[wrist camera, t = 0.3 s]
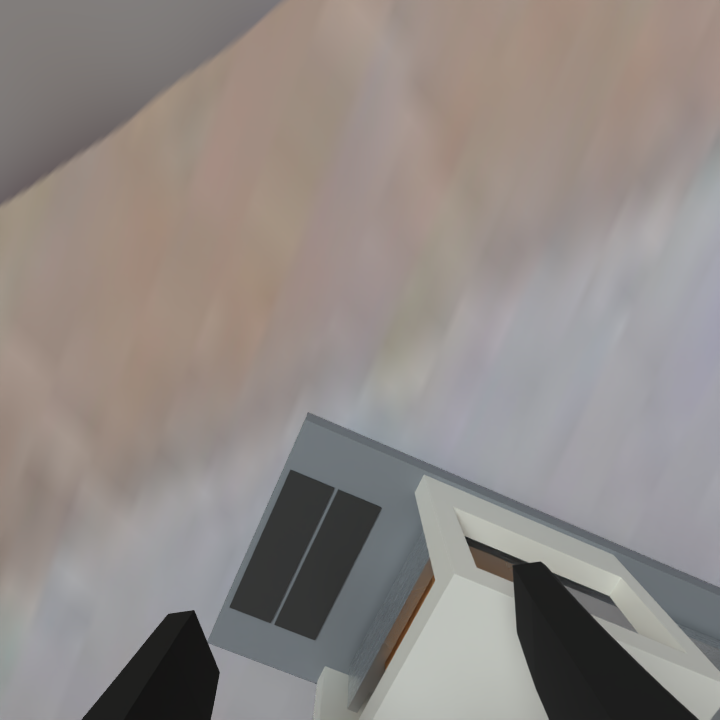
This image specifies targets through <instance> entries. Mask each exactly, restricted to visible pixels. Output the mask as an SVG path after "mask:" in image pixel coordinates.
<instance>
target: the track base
mask: <svg viewBox="0 0 720 720" xmlns="http://www.w3.org/2000/svg"><path fill="white" fill-rule="evenodd" d="M423 475H426V476H429V477H431V478H433V479H436V480H438V481H440V482H443V483H445V484H447V485H450V486H452V487H455V488H457V489H459V490H462V491H464V492H466V493H469V494H471V495H473V496H476V497H478V498H480V499H483V500H485V501H488V502H490V503H492V504H495V505H497V506H499V507H502V508H504V509H506V510H509V511H511V512H513V513H516V514H518V515H521V516H523V517H525V518H528V519H530V520H532V521H535V522H537V523H539V524H542V525H544V526H546V527H549V528H551V529H554V530H556V531H558V532H561V533H563V534H565V535H568V536H570V537H572V538H575V539H577V540H580V541H582V542H584V543H587V544H589V545H591V546H594V547H596V548H598V549H601V550H603V551H605V552H608V553H610V554H613V555H614V556H615V557H616V558H617V559H618V561H619V562H620V563H621V564H622V565H623V566H624V567H625V568H626V569H627V570H628V571H629V573H630V574H631V575H632V576H633V577H634V578H635V579H636V580H637V581H638V582H639V584H640V585H641V586H642V587H643V588H644V589H645V590H646V591H647V592H648V593H649V595H650V596H651V597H652V598H653V599H654V600H655V601H656V602H657V603H658V604H659V606H660V607H661V608H662V609H663V610H664V611H665V612H666V613H667V614H668V615H669V616H670V618H671V619H672V620H673V621H674V622H675V623H678V624H680V625H683V626H685V627H687V628H690V629H692V630H695V631H697V632H699V633H702V634H704V635H707V636H709V637H711V638H714V639H716V640H719V641H720V588H719V587H716V586H714V585H712V584H709V583H707V582H705V581H702V580H700V579H698V578H695V577H693V576H691V575H688V574H686V573H683V572H681V571H679V570H676V569H674V568H672V567H669V566H667V565H665V564H662V563H660V562H658V561H655V560H653V559H651V558H648V557H646V556H644V555H641V554H639V553H637V552H634V551H632V550H630V549H627V548H625V547H623V546H620V545H618V544H616V543H613V542H611V541H608V540H606V539H604V538H601V537H599V536H597V535H594V534H592V533H590V532H587V531H585V530H583V529H580V528H578V527H576V526H573V525H571V524H569V523H566V522H564V521H562V520H559V519H557V518H555V517H552V516H550V515H548V514H545V513H543V512H540V511H538V510H536V509H533V508H531V507H529V506H526V505H524V504H522V503H519V502H517V501H515V500H512V499H510V498H508V497H505V496H503V495H501V494H498V493H496V492H494V491H491V490H489V489H487V488H484V487H482V486H480V485H477V484H475V483H472V482H470V481H468V480H465V479H463V478H461V477H458V476H456V475H454V474H451V473H449V472H447V471H444V470H442V469H440V468H437V467H435V466H433V465H430V464H428V463H426V462H423V461H421V460H419V459H416V458H414V457H412V456H409V455H407V454H404V453H402V452H400V451H397V450H395V449H393V448H390V447H388V446H386V445H383V444H381V443H379V442H376V441H374V440H372V439H369V438H367V437H365V436H362V435H360V434H358V433H355V432H353V431H351V430H348V429H346V428H344V427H341V426H339V425H336V424H334V423H332V422H329V421H327V420H325V419H322V418H320V417H318V416H315V415H313V414H311V413H308V414H307V417H306V419H305V421H304V423H303V426H302V428H301V430H300V432H299V435H298V437H297V439H296V442H295V444H294V446H293V448H292V451H291V453H290V455H289V457H288V460H287V462H286V464H285V467H284V469H283V471H282V473H281V476H280V478H279V480H278V482H277V485H276V487H275V489H274V491H273V494H272V496H271V498H270V501H269V503H268V505H267V507H266V510H265V512H264V514H263V516H262V519H261V521H260V523H259V526H258V528H257V530H256V532H255V535H254V537H253V539H252V541H251V544H250V546H249V548H248V551H247V553H246V555H245V557H244V560H243V562H242V564H241V566H240V569H239V571H238V573H237V575H236V578H235V580H234V582H233V585H232V587H231V589H230V591H229V594H228V596H227V598H226V600H225V603H224V605H223V607H222V610H221V612H220V614H219V616H218V619H217V621H216V623H215V625H214V628H213V630H212V632H211V635H210V637H209V639H208V641H207V643H209V644H212V645H215V646H217V647H220V648H223V649H225V650H228V651H231V652H233V653H236V654H238V655H241V656H244V657H246V658H249V659H252V660H254V661H257V662H260V663H262V664H265V665H268V666H270V667H273V668H276V669H278V670H281V671H283V672H286V673H289V674H291V675H294V676H297V677H299V678H302V679H305V680H307V681H310V682H313V683H315V684H317V681H318V679H319V677H320V675H321V673H322V671H323V669H324V667H325V666H326V667H329V668H331V669H334V670H336V671H339V672H342V673H344V674H347V675H349V667H350V665H351V663H352V661H353V659H354V657H355V655H356V653H357V652H358V650H359V648H360V646H361V644H362V642H363V640H364V638H365V636H366V635H367V633H368V631H369V629H370V627H371V625H372V623H373V621H374V620H375V618H376V616H377V614H378V612H379V610H380V608H381V606H382V604H383V603H384V601H385V599H386V597H387V595H388V593H389V591H390V589H391V587H392V586H393V584H394V582H395V580H396V578H397V576H398V574H399V572H400V570H401V569H402V567H403V565H404V563H405V561H406V559H407V557H408V555H409V554H410V552H411V550H412V548H413V546H414V544H415V542H416V540H417V538H418V537H419V535H420V533H421V531H422V529H423V526H422V522H421V518H420V514H419V509H418V505H417V501H416V497H415V491H416V489H417V487H418V485H419V483H420V481H421V479H422V477H423Z"/></svg>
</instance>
